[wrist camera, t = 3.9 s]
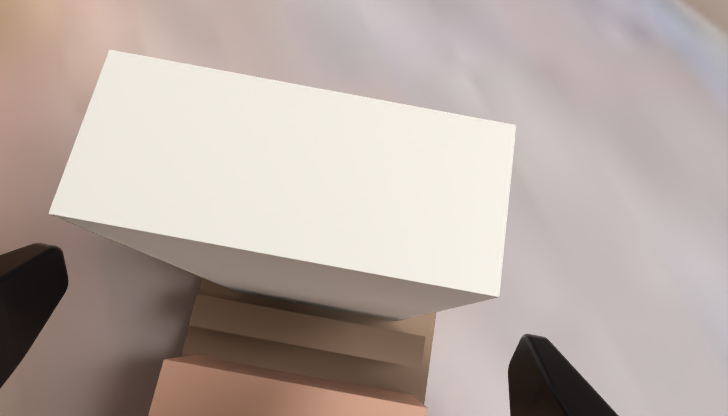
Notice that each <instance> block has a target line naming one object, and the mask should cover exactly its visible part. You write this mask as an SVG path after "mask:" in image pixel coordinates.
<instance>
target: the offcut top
mask: <svg viewBox="0 0 728 416" xmlns="http://www.w3.org/2000/svg"><path fill="white" fill-rule="evenodd" d="M148 416H427V407H426V406H425V405H423V404H422V403H421V402H420V401H418V400H412V399H407V398H401V397H396V396H390V395H385V394H380V393H374V392H369V391H363V390H358V389H353V388H347V387H342V386H336V385H331V384H326V383H320V382H315V381H309V380H304V379H299V378H293V377H288V376H282V375H277V374H271V373H266V372H261V371H255V370H250V369H244V368H239V367H234V366H228V365H223V364H217V363H212V362H207V361H201V360H196V359H190V358H185V357H177V358H170V359H164V361H163V364H162V368H161V371H160V375H159V378H158V382H157V386H156V389H155V393H154V396H153V400H152V404H151V407H150V411H149V414H148Z"/></svg>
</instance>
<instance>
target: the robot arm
mask: <svg viewBox="0 0 728 416" xmlns="http://www.w3.org/2000/svg"><path fill="white" fill-rule="evenodd" d="M67 287H68V275H67V270H66V265H65V260H64V255H63V252H62V250H61V249H60V248H59V247H57V246H53V245H48V244H43V243H35V244H31V245H29V246H26V247H23V248H20V249H17V250H14V251H11V252H8V253H5V254H2V255H0V388H1V387H2V386H3V384H4V383H5V382H6V380H7V379H8V378H9V377H10V375H11V374H12V373H13V371H14V370H15V369H16V367H17V366H18V365H19V363H20V362H21V361H22V359H23V358H24V356H25V355H26V353H27V352H28V350H29V349H30V347H31V346H32V344H33V343H34V341H35V339H36V338H37V336H38V335H39V333H40V332H41V330H42V328H43V327H44V325H45V324H46V322H47V321H48V319H49V317H50V316H51V314H52V313H53V311H54V309H55V308H56V306H57V305H58V303H59V302H60V300H61V298H62V297H63V295H64V294H65V292H66V289H67ZM508 382H509V399H510V415H511V416H618V415H617V414H616V412H615V411H614V410H613V409H612V408H611V407H610V406H609V405H608V404H607V403H606V402H605V401H604V399H603V398H602V397H601V396H600V395H599V394H598V393H597V392H596V391H595V390H594V389H593V387H592V386H591V385H590V384H589V383H588V382H587V381H586V380H585V379H584V378H583V377H582V376H581V374H580V373H579V372H578V371H577V370H576V369H575V368H574V367H573V366H572V365H571V364H570V363H569V361H568V360H567V359H566V358H565V357H564V356H563V355H562V354H561V353H560V352H559V351H558V350H557V348H556V347H555V346H554V345H553V344H552V343H551V342H550V341H549V340H548V339H547V338H545V337H542V336H537V335H531V334H525V335H523V336H522V338H521V339H520V341H519V344H518V346H517V348H516V350H515V352H514V354H513V357H512V359H511V361H510V364H509V368H508Z"/></svg>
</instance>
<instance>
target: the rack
mask: <svg viewBox="0 0 728 416" xmlns="http://www.w3.org/2000/svg"><path fill="white" fill-rule="evenodd" d="M435 318H436V312H434V313H429V314H425V315H421V316H417V317H412V318H408V319H404V320H400V321H395V322H394V321H389V320H383V319H378V318H373V317H367V316H362V315H356V314H351V313H346V312H340V311H335V310H329V309H324V308H319V307H313V306H308V305H302V304H297V303H292V302H286V301H281V300H275V299H270V298H265V297H259V296H254V295H248V294H243V293H238V292H236V291H233V290H231V289H229V288H226V287H224V286H221V285H219V284H217V283H214V282H212V281H209V280H207V279H205V278H202V280H201V284H200V288H199V291H198V294H197V295H196V299H195V302H194V306H193V310H192V313H191V317H190V321H189V324H188V325H189V328H188V332H187V336H186V339H185V343H184V347H183V350H182V354H181V357H184V356H191V355H199V356H205V357H210V358H215V359H221V360H226V361H232V362H237V363H243V364H248V365H253V366H259V367H264V368H270V369H275V370H280V371H286V372H291V373H297V374H302V375H307V376H313V377H318V378H324V379H329V380H334V381H340V382H345V383H351V384H356V385H362V386H367V387H372V388H378V389H383V390H389V391H394V392H399V393H405V394H410V395H413V396H414V397H415V398H416V399H417V400H419V401H420V402H421V403H422V404H423V405H424V401H425V393H426V386H427V378H428V371H429V363H430V356H431V348H432V341H433V333H434V326H435Z"/></svg>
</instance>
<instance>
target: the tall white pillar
mask: <svg viewBox="0 0 728 416" xmlns="http://www.w3.org/2000/svg"><path fill="white" fill-rule="evenodd" d="M515 131H516V125H513V124H507V123H502V122H496V121H491V120H486V119H480V118H475V117H470V116H464V115H459V114H453V113H448V112H443V111H437V110H432V109H426V108H421V107H416V106H410V105H405V104H400V103H394V102H389V101H383V100H378V99H373V98H367V97H362V96H357V95H351V94H346V93H340V92H335V91H330V90H324V89H319V88H314V87H308V86H303V85H297V84H292V83H287V82H281V81H276V80H271V79H265V78H260V77H254V76H249V75H244V74H238V73H233V72H227V71H222V70H217V69H211V68H206V67H201V66H195V65H190V64H184V63H179V62H174V61H168V60H163V59H158V58H152V57H147V56H141V55H136V54H131V53H125V52H120V51H115V50H109V53H108V55H107V58H106V61H105V63H104V66H103V69H102V71H101V74H100V77H99V79H98V82H97V85H96V87H95V90H94V93H93V95H92V98H91V101H90V104H89V106H88V109H87V112H86V114H85V117H84V120H83V122H82V125H81V128H80V130H79V133H78V136H77V138H76V141H75V144H74V146H73V149H72V152H71V154H70V157H69V160H68V163H67V165H66V168H65V171H64V173H63V176H62V179H61V181H60V184H59V187H58V189H57V192H56V195H55V197H54V200H53V203H52V205H51V208H50V211H49V213H48V214H51V215H53V216H56V217H58V218H60V219H63V220H65V221H68V222H70V223H72V224H75V225H77V226H80V227H82V228H84V229H87V230H89V231H92V232H94V233H97V234H99V235H101V236H104V237H106V238H109V239H111V240H113V241H116V242H118V243H121V244H123V245H125V246H128V247H130V248H133V249H135V250H137V251H140V252H142V253H145V254H147V255H149V256H152V257H154V258H157V259H159V260H161V261H164V262H166V263H169V264H171V265H173V266H176V267H178V268H181V269H183V270H185V271H188V272H190V273H193V274H195V275H197V276H200V277H202V278H205V279H207V280H209V281H212V282H214V283H217V284H219V285H221V286H224V287H226V288H229V289H231V290H233V291H236V292H238V293H243V294H248V295H254V296H259V297H265V298H270V299H275V300H281V301H286V302H292V303H297V304H302V305H308V306H313V307H319V308H324V309H329V310H335V311H340V312H346V313H351V314H356V315H362V316H367V317H373V318H378V319H383V320H389V321H394V322H395V321H400V320H404V319H408V318H412V317H417V316H421V315H425V314H429V313H434V312H438V311H442V310H446V309H451V308H455V307H459V306H463V305H467V304H472V303H476V302H480V301H484V300H489V299H493V298H497V297H499V294H500V283H501V273H502V263H503V253H504V243H505V233H506V223H507V213H508V202H509V192H510V182H511V172H512V162H513V152H514V142H515Z"/></svg>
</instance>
